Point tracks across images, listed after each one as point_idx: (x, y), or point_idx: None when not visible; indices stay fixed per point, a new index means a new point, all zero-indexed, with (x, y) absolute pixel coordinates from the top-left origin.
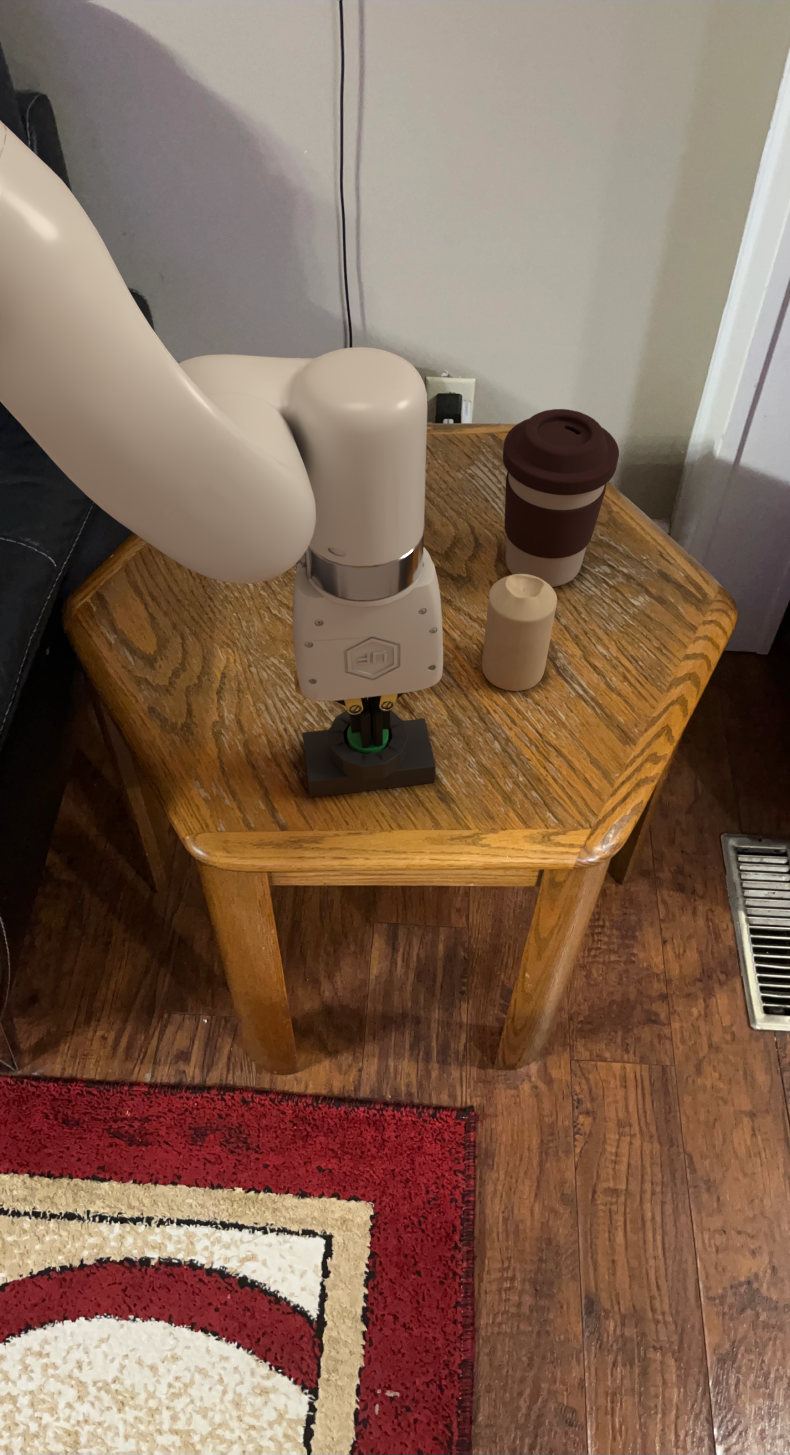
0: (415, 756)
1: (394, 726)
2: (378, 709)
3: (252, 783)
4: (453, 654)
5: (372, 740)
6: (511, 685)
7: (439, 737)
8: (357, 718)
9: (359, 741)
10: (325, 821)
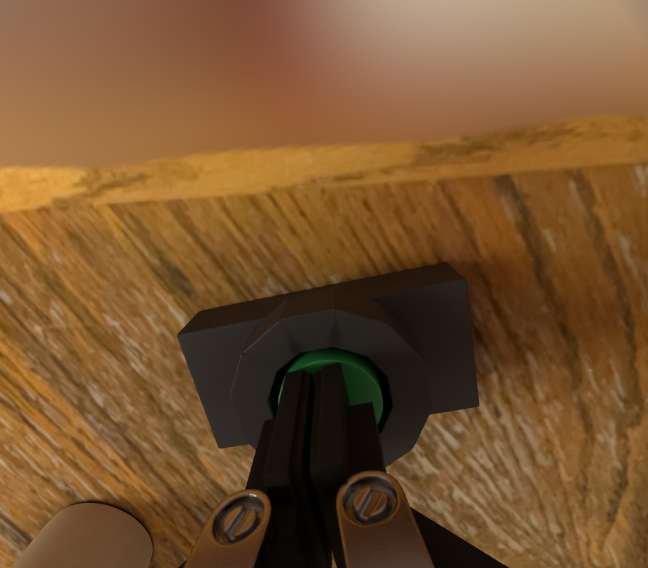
0: (224, 357)
1: None
2: (280, 493)
3: (567, 291)
4: None
5: None
6: (85, 515)
7: None
8: (358, 451)
9: (349, 382)
10: (412, 205)
